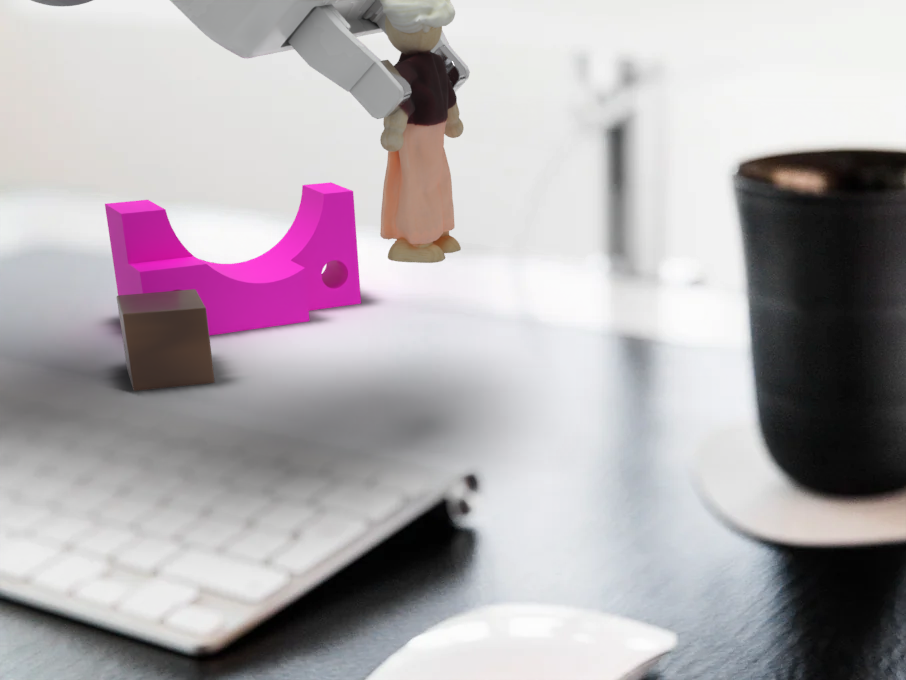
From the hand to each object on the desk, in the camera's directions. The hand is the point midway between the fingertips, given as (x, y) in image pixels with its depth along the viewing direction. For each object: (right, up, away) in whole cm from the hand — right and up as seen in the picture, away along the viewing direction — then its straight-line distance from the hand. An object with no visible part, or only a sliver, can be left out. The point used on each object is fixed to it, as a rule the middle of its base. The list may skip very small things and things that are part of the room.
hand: (428, 97), depth 65 cm
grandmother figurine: (-1, -7, +3) cm, 8 cm away
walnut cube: (-17, -10, +16) cm, 25 cm away
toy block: (-15, -5, +27) cm, 31 cm away
